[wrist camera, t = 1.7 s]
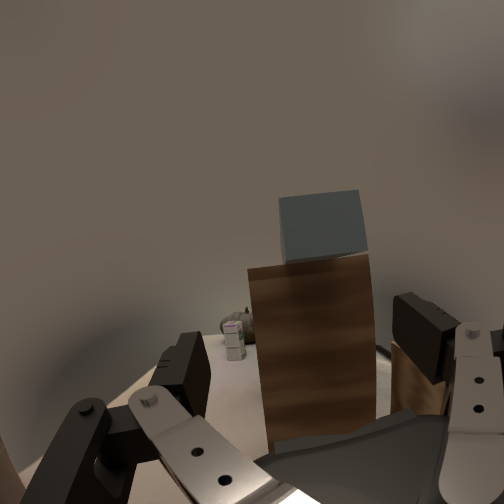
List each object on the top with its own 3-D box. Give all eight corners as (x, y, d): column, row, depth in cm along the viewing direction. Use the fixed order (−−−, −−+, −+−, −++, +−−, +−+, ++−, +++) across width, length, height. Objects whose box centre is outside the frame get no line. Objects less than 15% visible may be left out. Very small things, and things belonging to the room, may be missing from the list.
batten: (368, 250, 14) (358, 189, 14) (286, 260, 14) (278, 197, 14) (312, 263, 40) (310, 241, 40) (283, 267, 40) (280, 244, 40)
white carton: (241, 360, 106) (237, 322, 107) (227, 360, 108) (222, 323, 109) (246, 356, 112) (242, 320, 113) (232, 356, 113) (227, 321, 114)
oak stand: (499, 532, 9) (565, 354, 11) (420, 571, 10) (482, 401, 12) (444, 463, 27) (460, 324, 29) (383, 484, 28) (391, 342, 30)
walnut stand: (364, 525, 21) (367, 254, 23) (279, 537, 22) (247, 269, 24) (344, 460, 37) (334, 260, 39) (282, 467, 38) (260, 269, 40)
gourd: (225, 345, 122) (223, 305, 127) (216, 343, 145) (215, 310, 150) (281, 341, 129) (278, 303, 134) (264, 341, 152) (262, 308, 157)
